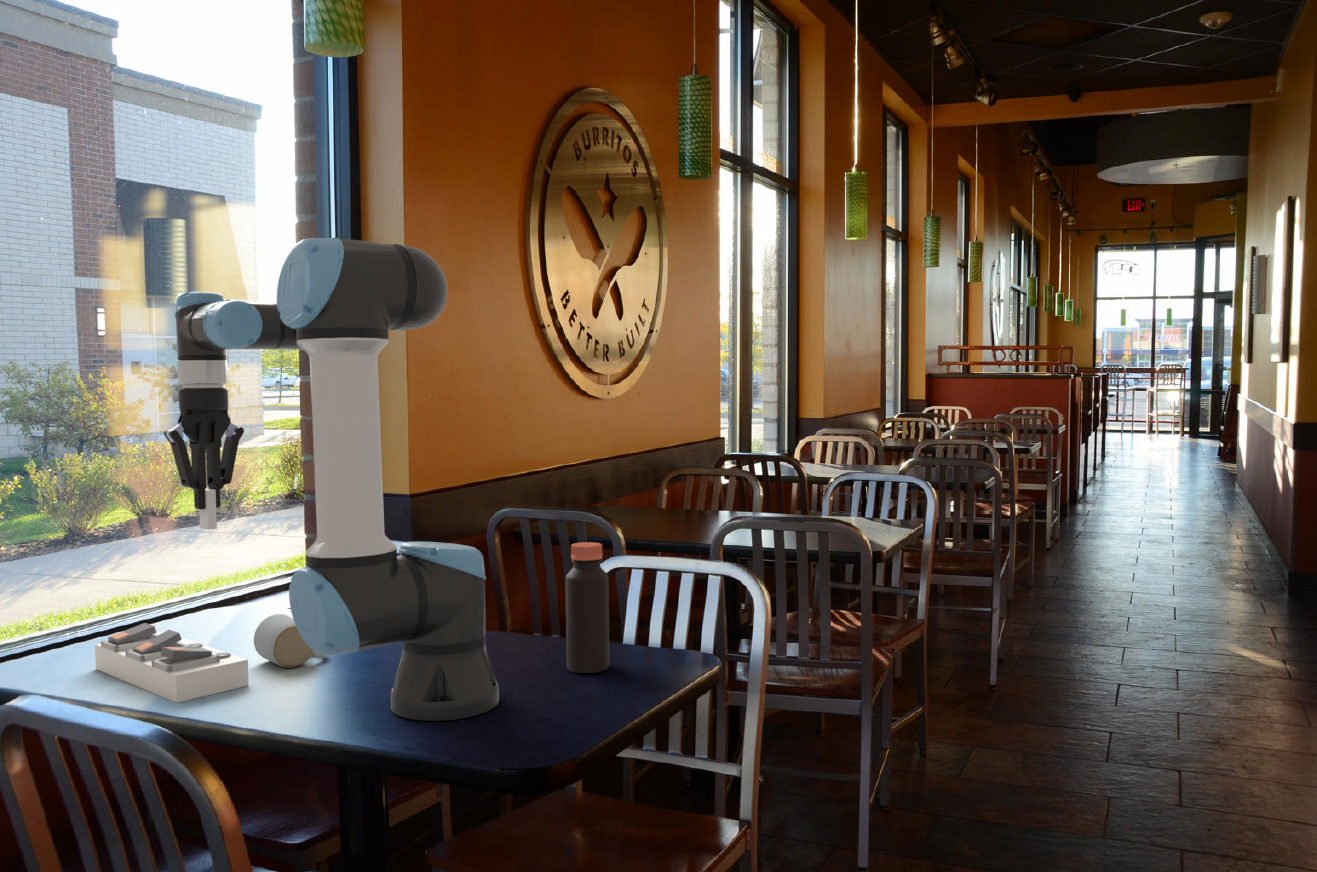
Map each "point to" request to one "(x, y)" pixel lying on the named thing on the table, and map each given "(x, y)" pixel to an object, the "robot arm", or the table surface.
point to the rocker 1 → (132, 634)
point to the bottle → (587, 610)
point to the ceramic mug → (282, 642)
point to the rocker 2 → (185, 652)
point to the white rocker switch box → (173, 670)
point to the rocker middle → (158, 642)
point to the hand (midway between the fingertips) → (208, 528)
